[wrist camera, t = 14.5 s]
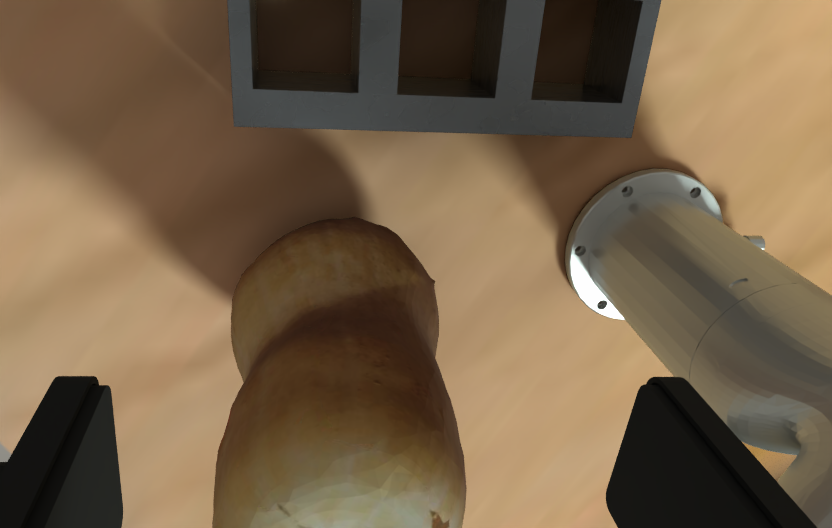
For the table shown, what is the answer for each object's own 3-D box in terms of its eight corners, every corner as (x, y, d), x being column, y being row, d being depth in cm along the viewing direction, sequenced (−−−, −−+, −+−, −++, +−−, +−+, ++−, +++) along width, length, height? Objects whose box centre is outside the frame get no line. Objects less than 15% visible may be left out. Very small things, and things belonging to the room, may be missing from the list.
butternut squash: (219, 209, 45) (143, 473, 22) (412, 180, 46) (518, 402, 24) (261, 372, 51) (234, 704, 29) (429, 343, 52) (526, 638, 30)
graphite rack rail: (622, -41, 42) (669, -39, 36) (592, 115, 46) (631, 137, 41) (234, -73, 37) (223, -75, 32) (241, 102, 42) (233, 126, 36)
